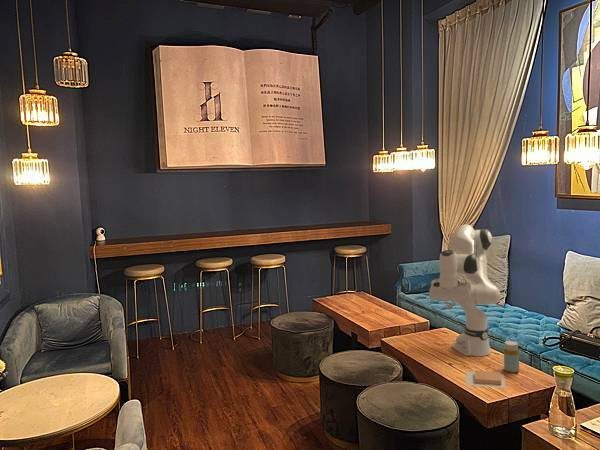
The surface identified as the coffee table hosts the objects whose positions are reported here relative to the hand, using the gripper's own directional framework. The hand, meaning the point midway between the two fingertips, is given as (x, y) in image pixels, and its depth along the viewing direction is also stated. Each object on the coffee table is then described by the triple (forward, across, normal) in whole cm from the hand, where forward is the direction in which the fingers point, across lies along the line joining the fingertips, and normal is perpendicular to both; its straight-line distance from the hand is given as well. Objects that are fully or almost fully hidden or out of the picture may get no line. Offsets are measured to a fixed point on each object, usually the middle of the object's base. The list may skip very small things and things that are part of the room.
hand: (449, 308), depth 247 cm
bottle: (+34, -29, -6) cm, 45 cm away
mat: (+34, -16, +7) cm, 38 cm away
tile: (+32, -11, +7) cm, 35 cm away
